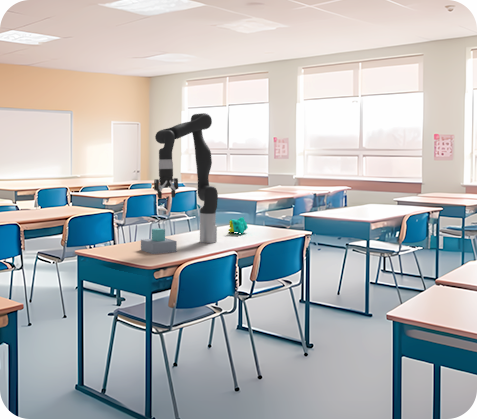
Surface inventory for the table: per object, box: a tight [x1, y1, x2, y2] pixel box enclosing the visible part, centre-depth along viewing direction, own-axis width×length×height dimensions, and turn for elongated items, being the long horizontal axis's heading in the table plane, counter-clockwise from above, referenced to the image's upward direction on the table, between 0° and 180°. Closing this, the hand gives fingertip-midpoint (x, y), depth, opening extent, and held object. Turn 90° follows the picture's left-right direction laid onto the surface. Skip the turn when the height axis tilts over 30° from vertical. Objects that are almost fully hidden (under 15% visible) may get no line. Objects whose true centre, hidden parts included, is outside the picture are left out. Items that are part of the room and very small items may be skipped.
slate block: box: [140, 237, 178, 255], centre depth 285 cm, size 14×14×6 cm
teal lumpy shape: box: [227, 216, 249, 234], centre depth 356 cm, size 15×12×13 cm
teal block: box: [151, 227, 166, 241], centre depth 284 cm, size 5×5×6 cm
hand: (166, 198), depth 289 cm, fingers open, 8 cm apart
